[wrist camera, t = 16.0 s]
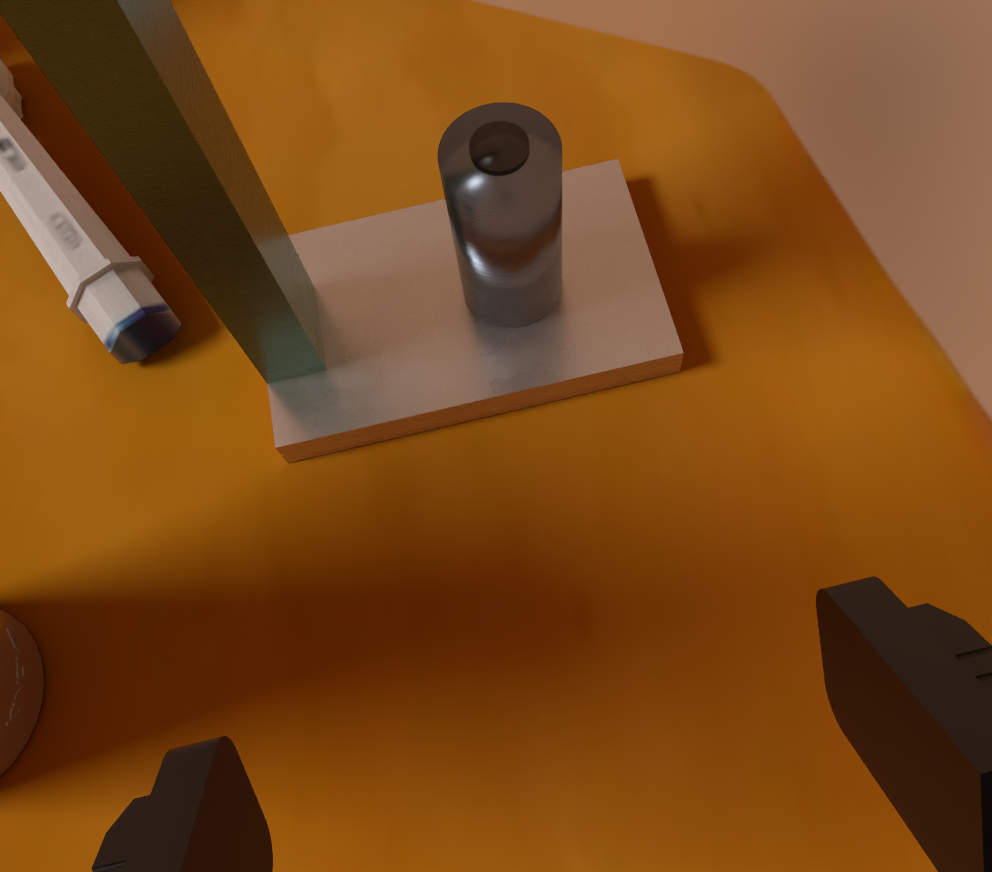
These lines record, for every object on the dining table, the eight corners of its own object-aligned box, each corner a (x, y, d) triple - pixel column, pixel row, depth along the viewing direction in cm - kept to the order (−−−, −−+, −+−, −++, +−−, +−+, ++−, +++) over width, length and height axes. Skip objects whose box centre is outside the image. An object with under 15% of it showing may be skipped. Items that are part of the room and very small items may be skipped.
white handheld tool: (84, 351, 45) (-150, 20, 50) (136, 396, 51) (-77, 98, 57) (175, 290, 46) (-66, -28, 51) (215, 342, 52) (-3, 54, 58)
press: (287, 462, 45) (-255, -197, 16) (246, 140, 54) (-161, -681, 24) (679, 371, 45) (853, -454, 16) (576, 63, 54) (567, -848, 24)
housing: (474, 338, 45) (450, 209, 35) (453, 254, 47) (425, 111, 37) (573, 314, 45) (576, 180, 35) (548, 232, 47) (544, 83, 37)
